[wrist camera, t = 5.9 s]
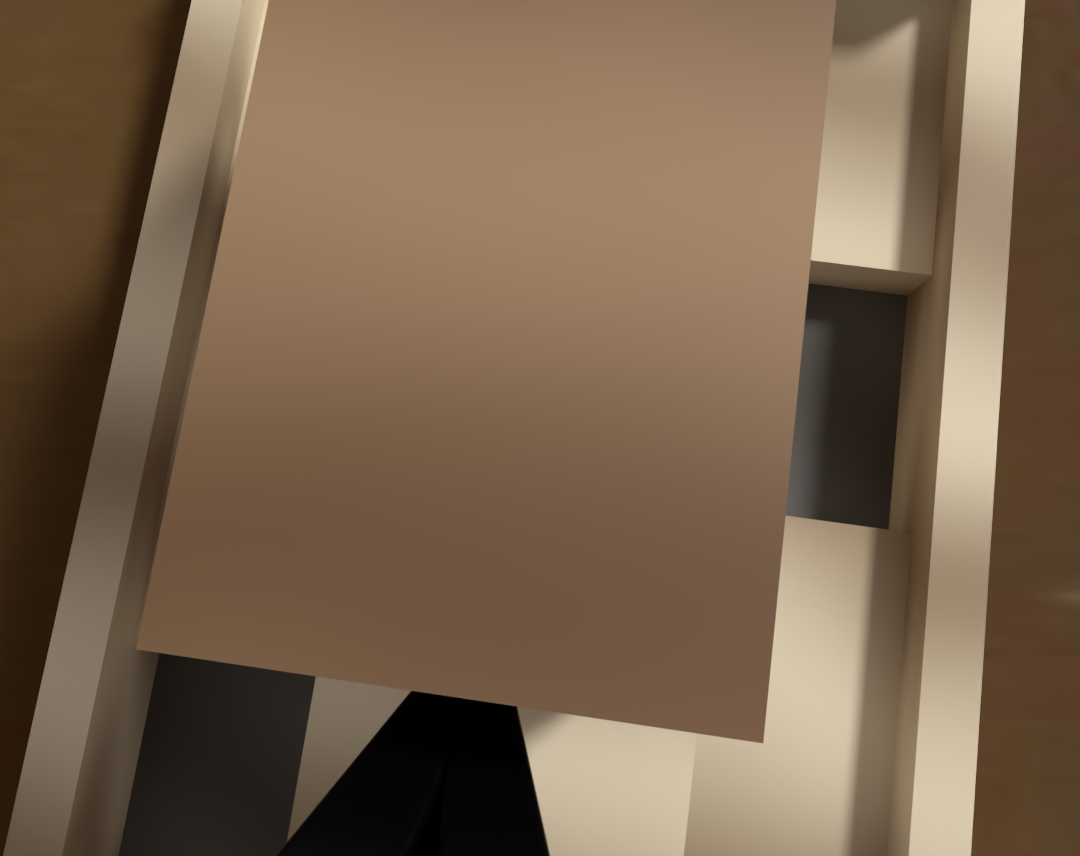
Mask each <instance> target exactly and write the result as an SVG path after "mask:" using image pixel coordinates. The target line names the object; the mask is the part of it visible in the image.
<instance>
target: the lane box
mask: <svg viewBox="0 0 1080 856" xmlns="http://www.w3.org/2000/svg"><path fill="white" fill-rule="evenodd" d="M268 2H269V0H192V1H191V6H190V10H189V15H188V19H187V24H186V28H185V33H184V37H183V42H182V46H181V51H180V55H179V60H178V65H177V69H176V74H175V78H174V83H173V87H172V92H171V96H170V101H169V105H168V110H167V114H166V119H165V123H164V128H163V133H162V137H161V142H160V146H159V151H158V155H157V160H156V164H155V169H154V173H153V178H152V182H151V187H150V192H149V196H148V201H147V205H146V210H145V214H144V219H143V223H142V228H141V232H140V237H139V241H138V246H137V250H136V255H135V260H134V264H133V269H132V273H131V278H130V282H129V287H128V291H127V296H126V300H125V305H124V309H123V314H122V319H121V323H120V328H119V332H118V337H117V341H116V346H115V350H114V355H113V359H112V364H111V368H110V373H109V377H108V382H107V387H106V391H105V396H104V400H103V405H102V409H101V414H100V418H99V423H98V427H97V432H96V436H95V441H94V446H93V450H92V455H91V459H90V464H89V468H88V473H87V477H86V482H85V486H84V491H83V495H82V500H81V504H80V509H79V514H78V518H77V523H76V527H75V532H74V536H73V541H72V545H71V550H70V554H69V559H68V563H67V568H66V572H65V577H64V582H63V586H62V591H61V595H60V600H59V604H58V609H57V613H56V618H55V622H54V627H53V631H52V636H51V641H50V645H49V650H48V654H47V659H46V663H45V668H44V672H43V677H42V681H41V686H40V690H39V695H38V699H37V704H36V709H35V713H34V718H33V722H32V727H31V731H30V736H29V740H28V745H27V749H26V754H25V758H24V763H23V768H22V772H21V777H20V781H19V786H18V790H17V795H16V799H15V804H14V808H13V813H12V817H11V822H10V826H9V831H8V836H7V840H6V845H5V849H4V854H3V856H276V855H277V854H278V853H279V851H280V850H281V849H282V848H283V846H284V845H285V844H286V843H287V842H288V840H289V839H290V838H291V837H292V835H293V834H294V833H295V832H296V831H297V829H298V828H299V827H300V826H301V824H302V823H303V822H304V821H305V820H306V818H307V817H308V816H309V815H310V813H311V812H312V811H313V810H314V809H315V807H316V806H317V805H318V804H319V802H320V801H321V800H322V799H323V798H324V796H325V795H326V794H327V793H328V791H329V790H330V789H331V788H332V787H333V785H334V784H335V783H336V782H337V780H338V779H339V778H340V777H341V776H342V774H343V773H344V772H345V771H346V770H347V768H348V767H349V766H350V765H351V763H352V762H353V761H354V760H355V759H356V757H357V756H358V755H359V754H360V752H361V751H362V750H363V749H364V748H365V746H366V745H367V744H368V743H369V741H370V740H371V739H372V738H373V737H374V735H375V734H376V733H377V732H378V730H379V729H380V728H381V727H382V726H383V724H384V723H385V722H386V721H387V719H388V718H389V717H390V716H391V715H392V713H393V712H394V711H395V710H396V708H397V707H398V706H399V705H400V704H401V702H402V701H403V700H404V699H405V698H406V696H407V695H408V694H409V693H410V690H403V689H397V688H390V687H383V686H377V685H370V684H363V683H357V682H350V681H343V680H337V679H330V678H323V677H317V676H310V675H303V674H297V673H290V672H283V671H277V670H270V669H263V668H257V667H250V666H243V665H237V664H230V663H223V662H217V661H210V660H203V659H197V658H190V657H183V656H177V655H170V654H163V653H156V652H150V651H143V650H136V645H137V640H138V635H139V630H140V625H141V620H142V615H143V611H144V606H145V601H146V596H147V591H148V586H149V581H150V577H151V572H152V567H153V562H154V557H155V552H156V547H157V542H158V538H159V533H160V528H161V523H162V518H163V513H164V508H165V503H166V499H167V494H168V489H169V484H170V479H171V474H172V469H173V464H174V460H175V455H176V450H177V445H178V440H179V435H180V430H181V426H182V421H183V416H184V411H185V406H186V401H187V396H188V391H189V387H190V382H191V377H192V372H193V367H194V362H195V357H196V352H197V348H198V343H199V338H200V333H201V328H202V323H203V318H204V314H205V309H206V304H207V299H208V294H209V289H210V284H211V279H212V275H213V270H214V265H215V260H216V255H217V250H218V245H219V240H220V236H221V231H222V226H223V221H224V216H225V211H226V206H227V202H228V197H229V192H230V187H231V182H232V177H233V172H234V167H235V163H236V158H237V153H238V148H239V143H240V138H241V133H242V128H243V124H244V119H245V114H246V109H247V104H248V99H249V94H250V90H251V85H252V80H253V75H254V70H255V65H256V60H257V55H258V51H259V46H260V41H261V36H262V31H263V26H264V21H265V16H266V12H267V7H268ZM1024 9H1025V0H836V9H835V19H834V29H833V39H832V49H831V59H830V70H829V80H828V90H827V100H826V110H825V120H824V131H823V141H822V151H821V161H820V171H819V181H818V192H817V202H816V212H815V222H814V232H813V242H812V253H811V263H810V273H809V283H808V293H807V303H806V314H805V324H804V334H803V344H802V354H801V364H800V375H799V385H798V395H797V405H796V415H795V425H794V436H793V446H792V456H791V466H790V476H789V486H788V497H787V507H786V517H785V527H784V537H783V547H782V558H781V568H780V578H779V588H778V598H777V608H776V619H775V629H774V639H773V649H772V659H771V669H770V680H769V690H768V700H767V710H766V720H765V730H764V740H763V743H757V742H750V741H744V740H737V739H730V738H724V737H717V736H710V735H704V734H697V733H690V732H684V731H677V730H670V729H664V728H657V727H650V726H644V725H637V724H630V723H624V722H617V721H610V720H604V719H597V718H590V717H584V716H577V715H570V714H564V713H557V712H550V711H544V710H537V709H530V708H524V707H517V708H518V713H519V717H520V722H521V726H522V731H523V735H524V740H525V744H526V749H527V753H528V758H529V762H530V767H531V771H532V776H533V780H534V785H535V789H536V794H537V798H538V803H539V807H540V812H541V816H542V821H543V825H544V830H545V834H546V839H547V843H548V848H549V853H550V856H971V844H972V828H973V812H974V796H975V781H976V765H977V749H978V733H979V718H980V702H981V686H982V670H983V655H984V639H985V623H986V607H987V592H988V576H989V560H990V544H991V529H992V513H993V497H994V481H995V466H996V450H997V434H998V418H999V403H1000V387H1001V371H1002V355H1003V340H1004V324H1005V308H1006V292H1007V277H1008V261H1009V245H1010V229H1011V214H1012V198H1013V182H1014V166H1015V151H1016V135H1017V119H1018V103H1019V88H1020V72H1021V56H1022V41H1023V25H1024Z"/></svg>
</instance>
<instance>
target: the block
mask: <svg viewBox="0 0 1080 856" xmlns="http://www.w3.org/2000/svg"><path fill="white" fill-rule="evenodd" d="M835 9H836V0H269V2H268V7H267V12H266V16H265V21H264V26H263V31H262V36H261V41H260V46H259V51H258V55H257V60H256V65H255V70H254V75H253V80H252V85H251V90H250V94H249V99H248V104H247V109H246V114H245V119H244V124H243V128H242V133H241V138H240V143H239V148H238V153H237V158H236V163H235V167H234V172H233V177H232V182H231V187H230V192H229V197H228V202H227V206H226V211H225V216H224V221H223V226H222V231H221V236H220V240H219V245H218V250H217V255H216V260H215V265H214V270H213V275H212V279H211V284H210V289H209V294H208V299H207V304H206V309H205V314H204V318H203V323H202V328H201V333H200V338H199V343H198V348H197V352H196V357H195V362H194V367H193V372H192V377H191V382H190V387H189V391H188V396H187V401H186V406H185V411H184V416H183V421H182V426H181V430H180V435H179V440H178V445H177V450H176V455H175V460H174V464H173V469H172V474H171V479H170V484H169V489H168V494H167V499H166V503H165V508H164V513H163V518H162V523H161V528H160V533H159V538H158V542H157V547H156V552H155V557H154V562H153V567H152V572H151V577H150V581H149V586H148V591H147V596H146V601H145V606H144V611H143V615H142V620H141V625H140V630H139V635H138V640H137V645H136V650H143V651H150V652H156V653H163V654H170V655H177V656H183V657H190V658H197V659H203V660H210V661H217V662H223V663H230V664H237V665H243V666H250V667H257V668H263V669H270V670H277V671H283V672H290V673H297V674H303V675H310V676H317V677H323V678H330V679H337V680H343V681H350V682H357V683H363V684H370V685H377V686H383V687H390V688H397V689H403V690H410V691H417V692H423V693H430V694H437V695H443V696H450V697H457V698H464V699H470V700H477V701H484V702H490V703H497V704H504V705H510V706H517V707H524V708H530V709H537V710H544V711H550V712H557V713H564V714H570V715H577V716H584V717H590V718H597V719H604V720H610V721H617V722H624V723H630V724H637V725H644V726H650V727H657V728H664V729H670V730H677V731H684V732H690V733H697V734H704V735H710V736H717V737H724V738H730V739H737V740H744V741H750V742H757V743H763V740H764V730H765V720H766V710H767V700H768V690H769V680H770V669H771V659H772V649H773V639H774V629H775V619H776V608H777V598H778V588H779V578H780V568H781V558H782V547H783V537H784V527H785V517H786V507H787V497H788V486H789V476H790V466H791V456H792V446H793V436H794V425H795V415H796V405H797V395H798V385H799V375H800V364H801V354H802V344H803V334H804V324H805V314H806V303H807V293H808V283H809V273H810V263H811V253H812V242H813V232H814V222H815V212H816V202H817V192H818V181H819V171H820V161H821V151H822V141H823V131H824V120H825V110H826V100H827V90H828V80H829V70H830V59H831V49H832V39H833V29H834V19H835Z"/></svg>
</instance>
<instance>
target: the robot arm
mask: <svg viewBox="0 0 1080 856" xmlns="http://www.w3.org/2000/svg"><path fill="white" fill-rule="evenodd" d="M276 856H550V853H549V848H548V843H547V839H546V834H545V830H544V825H543V821H542V816H541V812H540V807H539V803H538V798H537V794H536V789H535V785H534V780H533V776H532V771H531V767H530V762H529V758H528V753H527V749H526V744H525V740H524V735H523V731H522V726H521V722H520V717H519V713H518V708H517V706H510V705H504V704H497V703H490V702H484V701H477V700H470V699H464V698H457V697H450V696H443V695H437V694H430V693H423V692H417V691H410V693H409V694H408V695H407V696H406V698H405V699H404V700H403V701H402V702H401V704H400V705H399V706H398V707H397V708H396V710H395V711H394V712H393V713H392V715H391V716H390V717H389V718H388V719H387V721H386V722H385V723H384V724H383V726H382V727H381V728H380V729H379V730H378V732H377V733H376V734H375V735H374V737H373V738H372V739H371V740H370V741H369V743H368V744H367V745H366V746H365V748H364V749H363V750H362V751H361V752H360V754H359V755H358V756H357V757H356V759H355V760H354V761H353V762H352V763H351V765H350V766H349V767H348V768H347V770H346V771H345V772H344V773H343V774H342V776H341V777H340V778H339V779H338V780H337V782H336V783H335V784H334V785H333V787H332V788H331V789H330V790H329V791H328V793H327V794H326V795H325V796H324V798H323V799H322V800H321V801H320V802H319V804H318V805H317V806H316V807H315V809H314V810H313V811H312V812H311V813H310V815H309V816H308V817H307V818H306V820H305V821H304V822H303V823H302V824H301V826H300V827H299V828H298V829H297V831H296V832H295V833H294V834H293V835H292V837H291V838H290V839H289V840H288V842H287V843H286V844H285V845H284V846H283V848H282V849H281V850H280V851H279V853H278V854H277V855H276Z"/></svg>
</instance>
